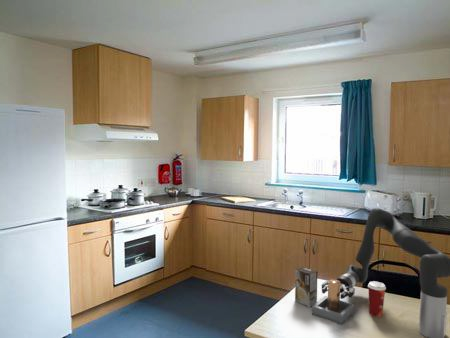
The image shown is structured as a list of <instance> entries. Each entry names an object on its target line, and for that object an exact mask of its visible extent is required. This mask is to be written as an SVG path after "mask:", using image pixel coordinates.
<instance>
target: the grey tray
mask: <svg viewBox="0 0 450 338" xmlns="http://www.w3.org/2000/svg"><path fill="white" fill-rule="evenodd" d="M327 304H328V295H327V296H326V295H325V296H323V297H322V298H320V299H319V300H318V301H317V303H316V304H314V305H313V306H311V315H312V316H315V317H318V318H321V319H323V320H326V321H330V322H333V323H334V324H335V323H336V324H338V325H344V324H345V323H346V321H348V320H349V319H350V318H351V316H352V315H353V314H354V313H355V304H354V303H350V302H346V301H343V300H340V303H339V313H338V312H334V311H331V310H328V309H327Z"/></svg>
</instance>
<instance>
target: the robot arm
mask: <svg viewBox="0 0 450 338" xmlns="http://www.w3.org/2000/svg"><path fill="white" fill-rule="evenodd" d="M376 228H380V229H383V230H385V231H387V232H388V234H391V236H392V240H393V242H394V243H395V244H396V245H397V247H399V248H400V249H401V250H403V251H404V252H406V253H408V254H411V255H412V256H415V257H418V258H420V261H419V284H420V301H419V323H418V332H419V334H421V335H422V336H424V337H426V338H445V337H446V333H447V316H448V313H447V304H448V303H447V301H448V289H447V288H446V286H444V285H443V284H440V283H438V279H439V278H449V277H450V256H448V255H447V254H446V253H444V252H442V251H441V250H439V249H437V248H435V247H434V246H432V245H431V244H429V242H427V241H425V240H424V239H423V238H421V237H420V236H419V235H418V234H417V233H415V232H414V231H412V229H410V228H409V227H407V226H406V225H404V224H403V223H401V222H400V221H399V220H398V219H397V218H396V217H395V216H394V214H392V213H391V212H389V211H387V210H384V209H381V208H379V207H373V208H372V209H371V210H370V212H369V213H368V216H367V219H366V223H365V227H364V232H363V236H362V240H361V244H360V247H359V249H358V251H357V254H356V255H355V261H356V262H357V263H359V264H360V266H361V267H359V266H357V265H355V264H350V265H348V266H347V268H346V270H345V271H346V272H345V273H343V274H342V275H340V276H339V277H337V278H336V279H335V280H338V281H340V282H341V285H340V299H341V300H343V299H345V298H347V297H349V298H353V296H354V295H355V292H356V288H355V286H356V285H357V284H358V283H359V284H364V283H365V282H367V279H368V276H369V267H370V263H371V260H372V258H373V255H374V252H375V240H374V235H375V234H374V233H375V230H376ZM328 285H329V280H326V281H324V282H323V283H321V293H322V294H325V293H328Z"/></svg>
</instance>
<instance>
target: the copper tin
mask: <svg viewBox="0 0 450 338" xmlns="http://www.w3.org/2000/svg"><path fill="white" fill-rule="evenodd" d="M328 281H329V285H328V287H327V289H328V291H327V297H328V304H327V309H328V310H331V311H334V312H338V313H339V303H340V301H341V300H340V299H341V298H340V296H341V293H340V285H341V282H340V281H338V280H336V279H329V280H328Z"/></svg>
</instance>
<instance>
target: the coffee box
mask: <svg viewBox="0 0 450 338" xmlns="http://www.w3.org/2000/svg"><path fill="white" fill-rule="evenodd" d="M294 276H295V279H294V281H295V285H294V287H295V289H294V294H295V295H294V301H295V302H297V303H299V304H301V305H305V306H307V307H309V308H312V306H313V305H314V304H316V303H317V302H318V301H317V300H318V270H315V269H310V268H308V267H305V266H301V267H298V268H297V269H295V275H294Z"/></svg>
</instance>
